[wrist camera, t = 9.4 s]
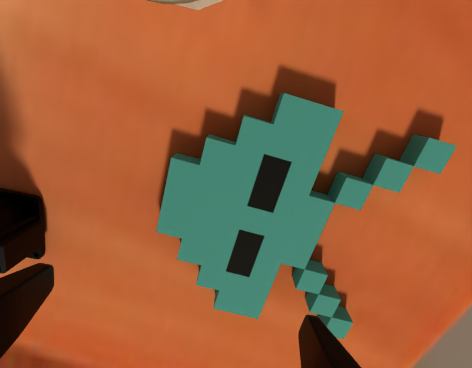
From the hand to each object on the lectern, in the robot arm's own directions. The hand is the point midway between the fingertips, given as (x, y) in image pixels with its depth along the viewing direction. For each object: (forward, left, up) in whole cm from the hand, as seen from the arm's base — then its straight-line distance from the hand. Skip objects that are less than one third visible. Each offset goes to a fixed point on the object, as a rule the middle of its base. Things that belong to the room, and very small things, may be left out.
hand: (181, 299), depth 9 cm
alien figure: (+6, -2, -14) cm, 15 cm away
